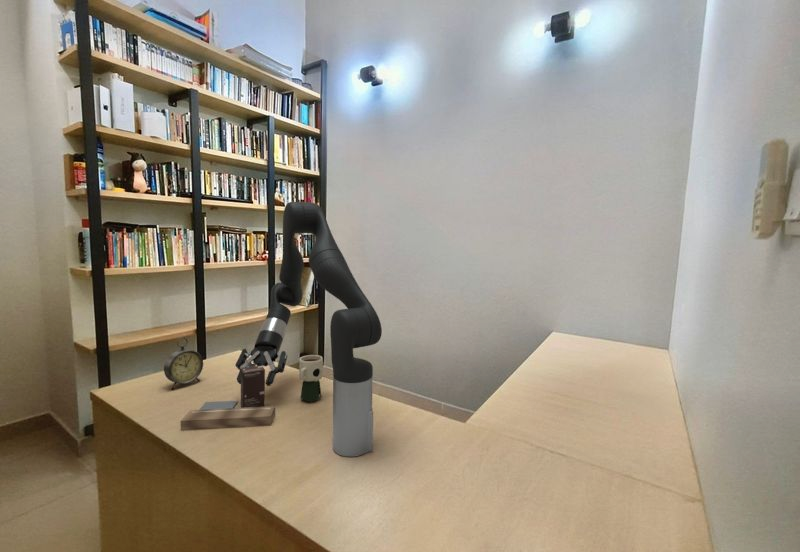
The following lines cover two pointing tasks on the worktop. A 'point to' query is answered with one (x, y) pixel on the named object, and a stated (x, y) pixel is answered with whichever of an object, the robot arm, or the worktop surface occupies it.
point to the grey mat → (219, 405)
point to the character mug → (310, 376)
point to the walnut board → (228, 418)
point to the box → (253, 387)
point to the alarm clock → (183, 366)
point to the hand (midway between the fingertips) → (253, 383)
